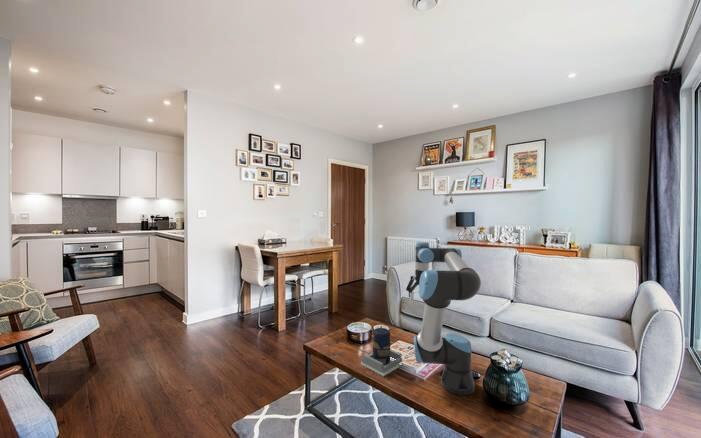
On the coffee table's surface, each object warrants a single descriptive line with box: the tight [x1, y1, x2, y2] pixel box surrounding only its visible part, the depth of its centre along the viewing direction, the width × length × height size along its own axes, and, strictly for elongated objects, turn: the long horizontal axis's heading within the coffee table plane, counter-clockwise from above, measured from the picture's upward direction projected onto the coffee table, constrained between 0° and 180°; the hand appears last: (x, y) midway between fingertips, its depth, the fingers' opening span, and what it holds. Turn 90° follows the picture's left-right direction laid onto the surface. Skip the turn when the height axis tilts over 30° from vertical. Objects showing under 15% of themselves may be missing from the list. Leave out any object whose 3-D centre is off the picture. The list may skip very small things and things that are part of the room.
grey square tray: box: [360, 348, 403, 377], centre depth 157 cm, size 16×16×6 cm
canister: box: [372, 327, 391, 365], centre depth 157 cm, size 10×10×18 cm
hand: (421, 306), depth 167 cm, fingers open, 13 cm apart
